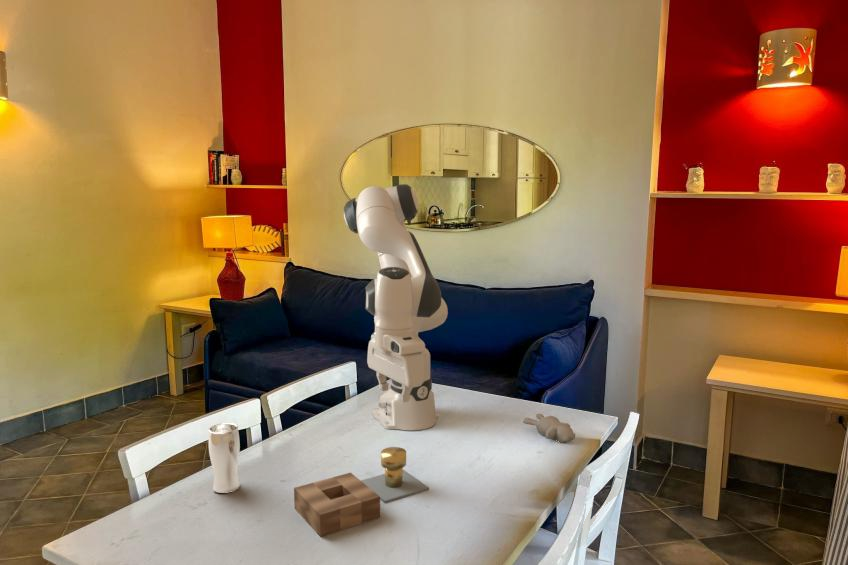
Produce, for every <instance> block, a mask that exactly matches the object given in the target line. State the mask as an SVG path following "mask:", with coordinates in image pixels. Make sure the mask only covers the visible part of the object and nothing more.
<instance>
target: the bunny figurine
mask: <svg viewBox="0 0 848 565" xmlns="http://www.w3.org/2000/svg"><path fill="white" fill-rule="evenodd" d="M535 416H536V418H537V420H536V419H533V418H531V417H524V419H523V421H522V423H523V424H525V425H529V426H534V427H536V429H537V432H538V434H540V436H542V437H544V436H545V437H544V438H545V439H547V440H555V441H556V440H557V441H559V442H562V443H564V441H565V443H567V442H570V441H572V440H575V438H576V433H574V431H573V429H572V427H571V425H570V424H569V423H568V422H567V423H566V422H561V421H560V420H559V419H558V418H557V417H556V416H553V415H549V416H544V414H542V413H536V415H535ZM557 441H556V442H557ZM559 442H558V443H559Z"/></svg>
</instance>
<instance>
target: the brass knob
mask: <svg viewBox="0 0 848 565" xmlns="http://www.w3.org/2000/svg"><path fill="white" fill-rule="evenodd" d="M380 465H381V467H382V468H383V469H384V474H385V485H386V486H387V487H390V488H397V487H400V486H402V484H403V470H404V468H405V467H406V466H407V450H406V449H405V448H402V447H398V446H390V447H386V448H384V449H382V450H381V451H380Z"/></svg>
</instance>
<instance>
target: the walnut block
mask: <svg viewBox="0 0 848 565" xmlns="http://www.w3.org/2000/svg"><path fill="white" fill-rule="evenodd" d="M293 495H294V496H293V497H294V498H293V500H294V501H293V504H294V509H295V511H297V512H298V513H299V515H300V516H301V517H302V519H304V521H306V523H308V525H309V526H310V527H311V528H312V529H313V530H314V531H315V533H316V534H317V535H318V536H319V538H321V537H324V536H327V535H330V534H333V533H336V532H340V531H343V530H346V529H349V528H352V527H355V526H359V525H362V524H364V523H368V522H370V521H373V520H376V519H380V518H381V499H380V496H379V495H377V494H376V493H375V492H374V491H373V490H371V489H370V488H369V487H368V486H366V485H365V484H364V483H363V482H362V481H361V480H360V479H359V478H358V477H357V476H356V475H354V474H353V473H352V472H348V473H343V474H341V475H340V474H339V475H336V476H333V477H328V478H326V479H322V480H319V481H318V480H317V481H314V482H311V483H307V484H303V485H299V486H295V487H294V488H293Z"/></svg>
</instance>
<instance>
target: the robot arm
mask: <svg viewBox="0 0 848 565" xmlns="http://www.w3.org/2000/svg"><path fill="white" fill-rule="evenodd" d="M418 209H419V198H418V196H417V194H416V192H415V191H414V190H413V188H412V187H411V186H410V185H409V184H402V183H401V184H396V185H395V186H390V187H382V186H376V185H372V186H368V187H366V188H364V189H362V191H360V193H359V194H358V197H353V198H351V199H350V200H348V201H347V202H346V203H345V204H344V206H343V219H344V222H345V223H346V226H347V227H348V229H349V230H350V231H351V232H353V233H354V234H358V236H359V237H358V238H359V239H360V242H362V244H363V245H364V246H366V248H368V249H369V250H371V251H372V252H375V253H377V257H378V261H379V266H380V269H379V270H378V271H377V273H376V278H373V279H371V281H370V282H369V283H368V284H367V285H366V286H365V287H364V288H365V307H364V308H365V310H366V311H367V312H368V313H370V314H371V315H372V316H374V317H373V319H374V320H373V322H374V331H373V333H372V334H371V336H370V340H369V341H368V346H367V358H366V362H367V365H368V366H367V367H368V368H369V369H370V370H373V371H375V372H376V374H375V375H376V378H377V380H378V388H379V390H380V391H382V392H383V393H382V394H381V395H380V397H379V402H378V407H376V408H374V409H373V410H371V415H372V416H373V417H375V419H376V420H377V421H378V422H379V423H380V424H381V425H382V426H383V428H384V429H386V430H387V429H388V430H402V431H422V430H426V429H429V428H431V427H433V426H435V425H436V421H437V419H438V418H439V413H437V412H436V403H435V402H436V401H435V394H434V393H435V392H434V391H432V388H433V387H432V386H433V380H432V379H433V378H432V376H431V353H430V352H429V350H428V348H426V344H425V342H424V340H422V339H421V338H420V337H419V333H422V332H425V331H431V330H433V329H435V328H438V327H439V326H441V325H443V324H444V323H445V322H446V320H447V318H448V314H449V312H448V310H449V309H448V305H447V303H446V301H445V300H444V299H443V297H442V293H441V292H442V291H441V289H440V285H439V283H438V282H437V280H436V278H435V277H434V276H433V274H432V271H431V269H430V267H429V265H428V262H427V260H426V257H425V256H424V253H423V251H422V249H421V247H420V245H419V242H418V240H417V238H416V237H415V234H414V233H413V232H411V231H409V230H408V229H407V227H406V225H405V222H407V224H408V226H411V225H412V221H413V220H414V219H415V218H416V217H417V214H418V211H419V210H418ZM387 378H389V380H390V381H391V383H390V388H389V382H388V381H387Z"/></svg>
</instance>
